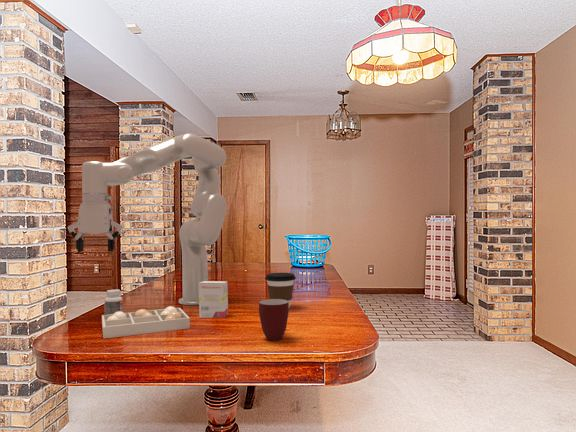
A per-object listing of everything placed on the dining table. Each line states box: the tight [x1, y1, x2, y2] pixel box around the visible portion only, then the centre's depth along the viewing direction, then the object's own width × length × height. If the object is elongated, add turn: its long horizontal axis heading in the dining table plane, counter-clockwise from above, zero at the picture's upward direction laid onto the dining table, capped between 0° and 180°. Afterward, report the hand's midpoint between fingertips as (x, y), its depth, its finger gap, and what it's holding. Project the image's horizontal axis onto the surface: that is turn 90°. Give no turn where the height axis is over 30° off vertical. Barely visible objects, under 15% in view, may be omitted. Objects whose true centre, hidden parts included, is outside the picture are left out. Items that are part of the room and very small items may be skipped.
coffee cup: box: [264, 272, 297, 308], centre depth 158 cm, size 11×11×12 cm
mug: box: [258, 298, 290, 342], centre depth 121 cm, size 11×8×10 cm
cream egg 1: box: [107, 311, 127, 320], centre depth 132 cm, size 6×4×4 cm
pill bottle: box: [104, 289, 124, 315], centre depth 142 cm, size 5×5×10 cm
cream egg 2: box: [160, 305, 177, 315], centre depth 138 cm, size 6×4×4 cm
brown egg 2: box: [164, 311, 182, 320], centre depth 131 cm, size 6×4×4 cm
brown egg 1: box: [134, 308, 153, 317], centre depth 135 cm, size 6×4×4 cm
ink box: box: [198, 280, 229, 319], centre depth 145 cm, size 9×5×12 cm, turn 82°
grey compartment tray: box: [101, 307, 191, 340], centre depth 132 cm, size 23×16×4 cm
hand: (95, 251), depth 145 cm, fingers open, 9 cm apart
